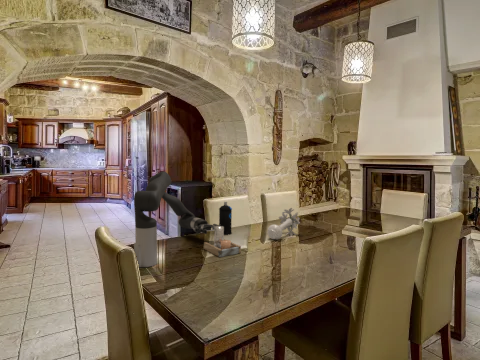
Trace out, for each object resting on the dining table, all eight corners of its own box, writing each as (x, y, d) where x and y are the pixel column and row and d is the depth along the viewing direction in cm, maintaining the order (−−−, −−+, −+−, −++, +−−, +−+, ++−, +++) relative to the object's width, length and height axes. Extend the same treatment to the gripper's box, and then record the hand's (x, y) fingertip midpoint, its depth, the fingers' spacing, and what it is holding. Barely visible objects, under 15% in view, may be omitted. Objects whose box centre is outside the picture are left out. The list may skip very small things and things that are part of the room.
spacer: (224, 254, 159) (224, 243, 158) (218, 252, 163) (219, 240, 163) (232, 253, 162) (232, 241, 161) (227, 250, 166) (227, 239, 165)
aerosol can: (220, 235, 197) (220, 203, 195) (217, 232, 205) (217, 201, 203) (233, 234, 199) (233, 202, 197) (230, 231, 207) (230, 200, 205)
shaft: (217, 251, 164) (217, 228, 163) (212, 249, 168) (212, 226, 167) (225, 249, 167) (225, 227, 166) (220, 247, 171) (220, 225, 170)
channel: (219, 257, 155) (219, 250, 155) (204, 248, 168) (204, 242, 168) (240, 253, 162) (240, 246, 162) (223, 245, 175) (224, 239, 175)
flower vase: (279, 252, 186) (302, 234, 203) (280, 225, 179) (303, 208, 196) (262, 244, 194) (285, 227, 211) (262, 217, 187) (286, 202, 204)
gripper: (188, 220, 181) (201, 225, 168) (210, 217, 189) (224, 222, 176) (188, 233, 182) (201, 239, 168) (209, 229, 190) (224, 236, 177)
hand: (213, 231), depth 172 cm, fingers open, 8 cm apart
